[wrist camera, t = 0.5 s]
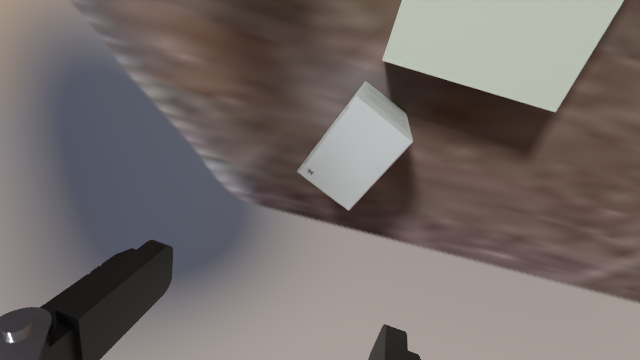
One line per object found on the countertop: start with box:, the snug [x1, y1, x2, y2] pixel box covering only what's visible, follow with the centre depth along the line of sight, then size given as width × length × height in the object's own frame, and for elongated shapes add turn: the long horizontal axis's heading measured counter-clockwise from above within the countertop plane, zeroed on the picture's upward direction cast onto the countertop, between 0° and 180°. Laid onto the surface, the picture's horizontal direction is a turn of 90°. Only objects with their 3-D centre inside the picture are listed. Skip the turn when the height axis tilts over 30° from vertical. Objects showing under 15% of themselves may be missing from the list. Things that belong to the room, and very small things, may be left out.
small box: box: [297, 81, 413, 211], centre depth 29 cm, size 8×6×10 cm
